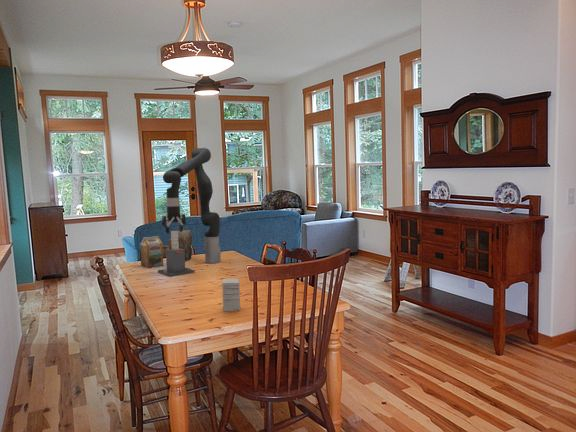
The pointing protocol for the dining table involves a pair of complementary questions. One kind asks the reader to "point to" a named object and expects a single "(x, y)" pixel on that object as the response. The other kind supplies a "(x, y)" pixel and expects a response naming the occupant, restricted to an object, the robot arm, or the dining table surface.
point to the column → (174, 240)
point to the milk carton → (151, 252)
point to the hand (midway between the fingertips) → (174, 232)
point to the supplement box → (231, 295)
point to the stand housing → (175, 263)
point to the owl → (185, 243)
